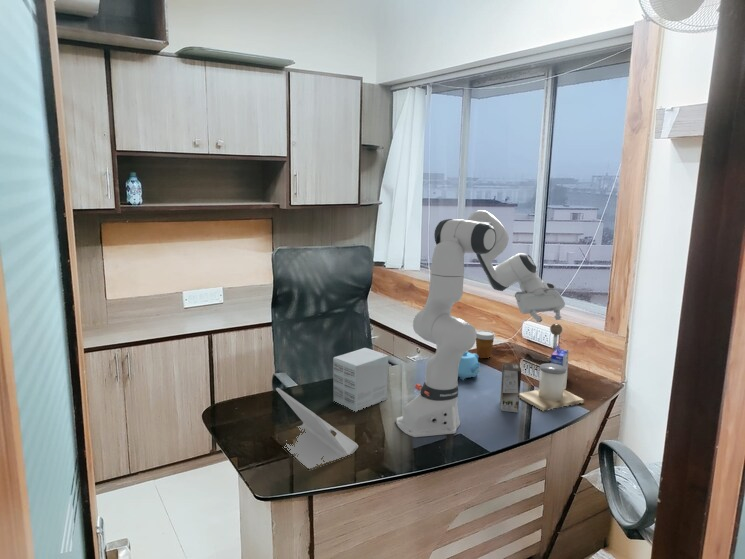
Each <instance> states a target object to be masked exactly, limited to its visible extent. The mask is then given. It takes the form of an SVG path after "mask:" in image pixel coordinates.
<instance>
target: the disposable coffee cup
mask: <svg viewBox="0 0 745 559" xmlns="http://www.w3.org/2000/svg"><path fill="white" fill-rule="evenodd" d="M495 337H496V335H495V332H493V331H491V330H484V329H483V330H482V329H481V330H477V331H476V341H475V344H476V354H477V355H478V358H479V357H480V358H479V359H482V358H488V359H490V358H491V356H492V355H491V354H492V350H493V346H494V345H493V344H494V339H495ZM489 357H490V358H489Z"/></svg>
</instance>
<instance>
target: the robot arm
mask: <svg viewBox="0 0 745 559" xmlns="http://www.w3.org/2000/svg"><path fill="white" fill-rule="evenodd" d="M470 214H471V215H470V216H468V218H467V219H458V218H457V219H452V218H448V219H447V218H445V219H443V220H440V221H439V222H438V224H437V225H436V227H435V228H434V236H433V238H434V243H435V244H436V245H435V246H434V250H433V254H432V259H431V264H430V276H429V289H428V295H427V300H426V302H425V305H424V306H423V308H422V309H421V310H420V311H418V312H417V313H416V314H415V316H414V318H413V321H412V328H413V331H414V333H415V334H416V335H418V336H419V337H420V338H421V339H422V340H424V341H426V342H429V343H432V344H434V345H436V351H435V353H434V355H432V356H431V357H429V358H428V359H427V361H426V362H425V378H424V379H425V380H424V383H423V385H421V384H420V383H416V384H415V385H414V388H415V390H417V391H419V394H418V395H417V396H415V397H414V398H413V399H412V400H410V401H409V402H408V403H407V404H406V405H405V406H404V408H403V411H402V416H398V417H396V419H395V420H396V421H395V422H396V426H397V427H398V428H399V429H400V430H401V431H402V432H403V433H404V434H406V435H408V436H410V437H413V438H421V437H432V436H441V435H442V436H443V435H452V434H456V433H457V429H458V428H459V427H460V426H461V420H460V416H459V409H458V396H459V383H458V379H459V376H458V368H459V363H460V360H461V358H462V356H463V354H464V353H465V352H467V351H468V352H469V351H470V350H472V348H473V347H474V346H475V344H476V332H477V331H476V328H475V326H473V325H472V324H471V323H469V322H468V321H466V320H465V319H463V318H459V317H456V316H453V315H451V311H452V308H453V306H454V304H456V303H458V302H459V301H461V299H462V297H463V293H464V292H463V291H464V277H465V258H464V257H465V256H464V255H465V254H476V257H477V259H478V262H479V263H480V266H481V267H482V270H483V271H484V273H485V275H486V278H487V281H488V283H489V285H490V287H492V289H493V290H494V291H500V292H503V291H505V290H506V289H509V287H511V286H513V285H514V284H516V283H518V284H519V288H520V290H521V291H517V292H515V293H514V297H515V300H516V304H517V307H518V310H519V312H520V313H521V314H523V315H526V314H530V316H531V317H532V318H534V319H535V321H536V323H541V322H542V321H543V317H542V316H541V315H538V313H545V312H553V313H555V315H554V318H555V320H556V321H560V320H561V319H562V316H561V310H562V309H564V307H565V306H566V303H565V300H564V298H563V296H562V295H561V294H560V292H559V291H558V290H556V289H557V287H556V285H555V284H554V283H551V282H546V281H544V280H543V279H542V278H541V277H540V276H539V275H538V271H537V266H536V264H535V262H534V260H533V258H532V257H531V255H530V254H527V253H523V252H519V253H517V254H514V255H513V256H511V257H509V258H508V259H505V260H504V261H502V262H500V263H499V264H497V265H495V266H494V265H493V261H495V259H496V258H498V256H499V255H501V254H502V253H503V252H504V251H505V250H506V248H507V246H508V243H509V234H508V231H507V230H506V228H505V226H504V225H503V224H502V223H501V222H500V220H499V219H498V218H496V217H495V216H494V215H493V214H492V213H490V212H489V211H487V210H483V209H482V210H481V209H480V210H476V211H474V212H473V213H470Z"/></svg>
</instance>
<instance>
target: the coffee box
mask: <svg viewBox="0 0 745 559" xmlns="http://www.w3.org/2000/svg"><path fill="white" fill-rule="evenodd" d="M501 369H502V370H501V382H500V383H501V386H500V388H501V389H500V398H499V399H500V403H499V404H500V410H501V411H502V412H511V413H519V408H520V406H519V404H520V398H519V395H520V393H521V379H522V368H521V365H520V363H519V362H502V368H501Z"/></svg>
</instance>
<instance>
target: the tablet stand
mask: <svg viewBox="0 0 745 559" xmlns="http://www.w3.org/2000/svg"><path fill="white" fill-rule="evenodd" d="M275 390H276V392H278V394H279V395H280V396H281V398H282V399H283V400H284V401H285V402H286V404H287V405H288V406H289V408H291V410H292V411H293V412H294V413H295V414H296V416H297V417H298V418H299V419H300V420H301V422H302V424H301V425H298V426H297V427H298V428H299V427H300V428H301V429H300V428H299V430H300V431H301V430H302V429H303V430H302V432H303V431H304V429H305V432H306V433H305V432H304V433H303V434H302V433H300V435H299V437H298V436H297V437H298V438H297V437H296V438H297V441H298V442H297V441H296V443H297V444H296V443H295V447H294V445H293V444H292V445H293V446H292V445H291V444H290V445H291V446H290V445H289V444H287V443H286V445H287V447H288V448H289V449H288V448H287V447H285V446H286V445H285V446H284V448H287V450H288V451H289V450H290V449H291V450H290V451H289V452H290V453H291V454H294V453H295V454H296V453H297V454H296V456H295V457H296V458H297V459H298V460H299V461H300V462H301V463H302V464H303V465H305V466H306V467H307V468H309V469H310V468H313V467H315V466H317V465H316V464H318V465H320V464H321V463H322V464H324V463H326V462H329V461H333V460H336V459H339V458H341V457H345V456H347V455H350V454H352V455H353V454H354V453H355V451H357V449H359V445H358V443H357V442H355V441H353V439H351V438H350V437H348V436H347V435H345V433H342V432H341V431H339V429H337V428H336V427H334V426H332V425H331V424H330V423H328V422H327V421H326V420H324V419H323V418H321V417H320V416H319V415H317V414H316V413H315V412H313V411H312V410H310V409H309V408H307V407H306V406H305V405H303V404H302V403H300V402H299V401H298V400H297V399H295V398H294V397H293V396H291V395H289V394H288V393H287V392H285V391H284V390H283V389H281V388H279V387H276V388H275ZM332 431H333V432H334V433H336V435H335V436H334V435H333V433H332ZM301 434H302V435H301ZM286 441H287V440H286ZM284 448H283V449H284ZM298 454H299V455H298ZM297 455H298V457H297ZM323 456H324V457H323ZM350 456H351V455H350ZM322 457H323V459H322V460H321V458H322ZM345 458H346V457H345ZM323 460H324V461H325V462H323ZM339 460H340V459H339ZM301 463H300V464H301ZM302 464H301V465H302ZM303 465H302V466H303Z"/></svg>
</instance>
